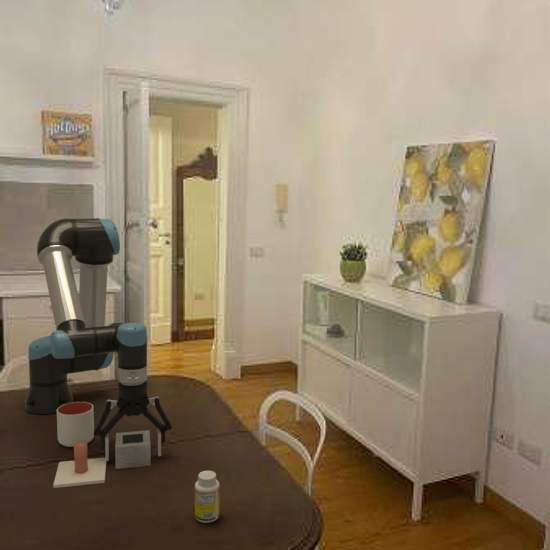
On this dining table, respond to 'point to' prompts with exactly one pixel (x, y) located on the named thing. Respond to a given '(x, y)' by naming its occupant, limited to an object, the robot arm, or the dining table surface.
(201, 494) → the supplement bottle
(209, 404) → the dining table surface
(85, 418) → the cup
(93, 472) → the peg stand
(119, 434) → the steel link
